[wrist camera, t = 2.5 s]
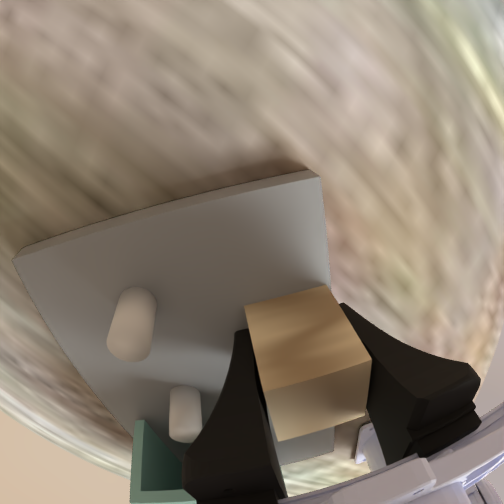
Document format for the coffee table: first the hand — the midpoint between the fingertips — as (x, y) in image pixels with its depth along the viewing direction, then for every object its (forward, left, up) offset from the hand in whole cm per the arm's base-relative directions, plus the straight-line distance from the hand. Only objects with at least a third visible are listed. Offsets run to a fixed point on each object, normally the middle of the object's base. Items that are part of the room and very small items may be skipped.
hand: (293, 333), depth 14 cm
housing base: (+5, +4, -2) cm, 6 cm away
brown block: (0, 0, 0) cm, 0 cm away
